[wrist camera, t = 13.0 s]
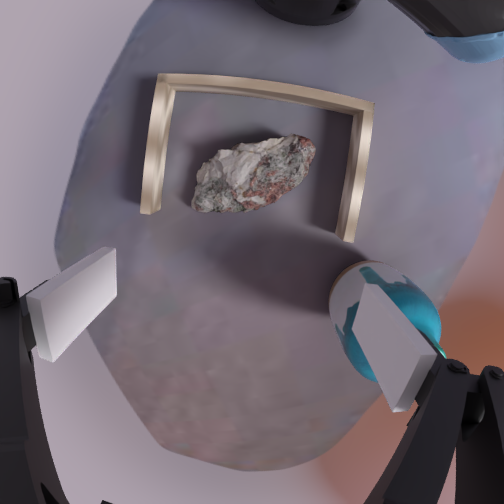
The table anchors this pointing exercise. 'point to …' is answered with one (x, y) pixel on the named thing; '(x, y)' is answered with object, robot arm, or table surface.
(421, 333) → the robot arm
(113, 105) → the table surface
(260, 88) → the u-shaped wooden frame
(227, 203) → the mineral rock
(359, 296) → the vase
